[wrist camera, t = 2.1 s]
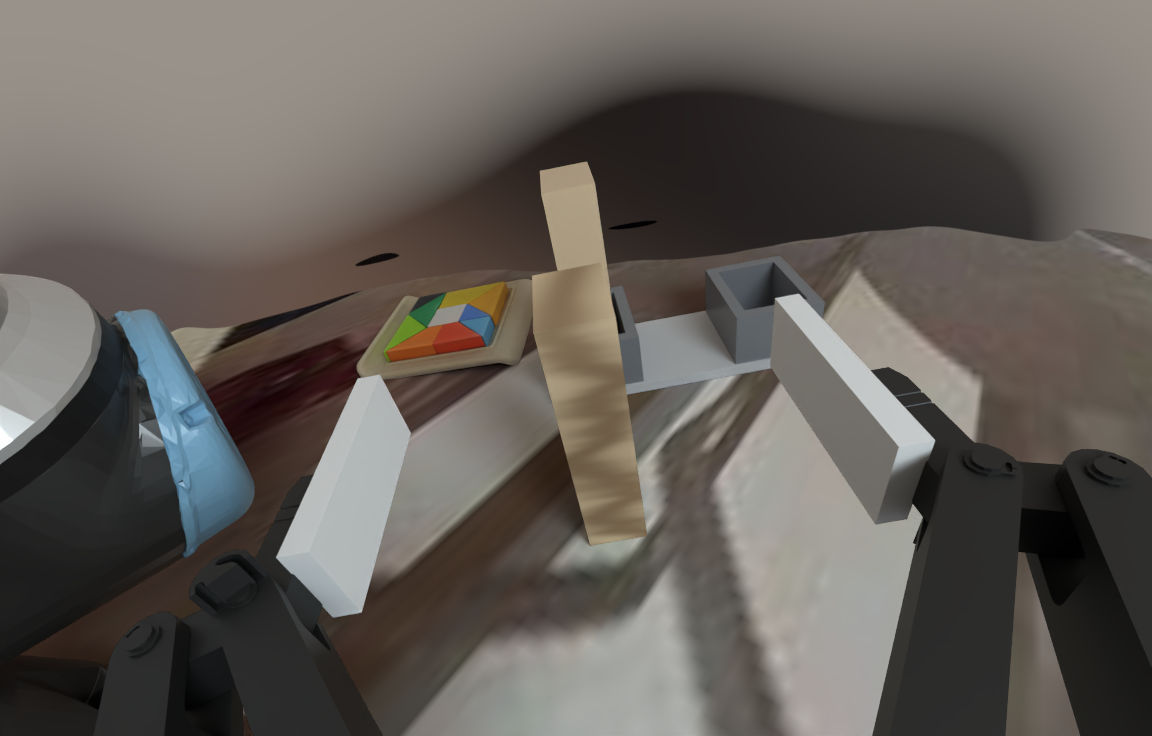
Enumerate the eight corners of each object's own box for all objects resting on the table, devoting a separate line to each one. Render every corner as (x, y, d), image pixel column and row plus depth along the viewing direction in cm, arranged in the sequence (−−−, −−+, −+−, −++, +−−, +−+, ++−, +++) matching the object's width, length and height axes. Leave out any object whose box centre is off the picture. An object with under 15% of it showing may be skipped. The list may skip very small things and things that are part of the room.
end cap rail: (558, 406, 47) (507, 209, 35) (553, 346, 55) (511, 170, 43) (825, 358, 46) (862, 139, 34) (781, 304, 54) (799, 112, 42)
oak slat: (590, 545, 35) (533, 332, 24) (582, 478, 39) (532, 275, 29) (647, 535, 34) (615, 316, 24) (632, 469, 39) (600, 262, 28)
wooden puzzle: (411, 305, 70) (402, 282, 68) (542, 290, 67) (536, 267, 65) (358, 385, 56) (344, 360, 54) (519, 372, 53) (511, 345, 51)
